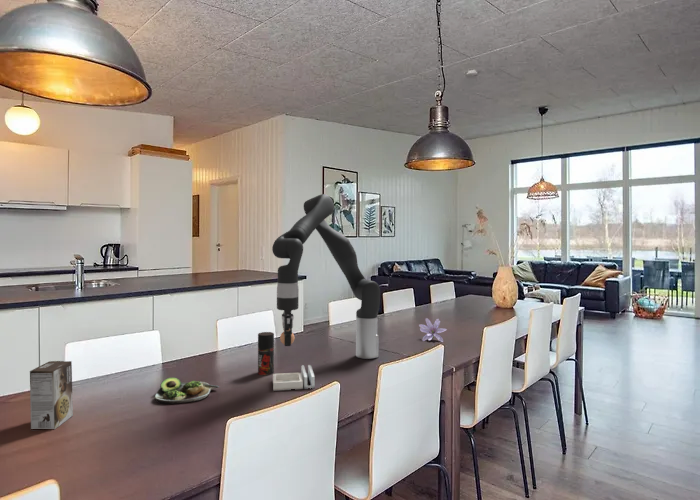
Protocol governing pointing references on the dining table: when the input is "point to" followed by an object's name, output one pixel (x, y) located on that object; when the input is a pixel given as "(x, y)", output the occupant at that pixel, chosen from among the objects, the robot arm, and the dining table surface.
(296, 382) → the dish
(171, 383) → the salad plate
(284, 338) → the ball
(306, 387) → the grey grooved channel
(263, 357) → the deodorant
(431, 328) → the water lily
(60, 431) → the dining table surface
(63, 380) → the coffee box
